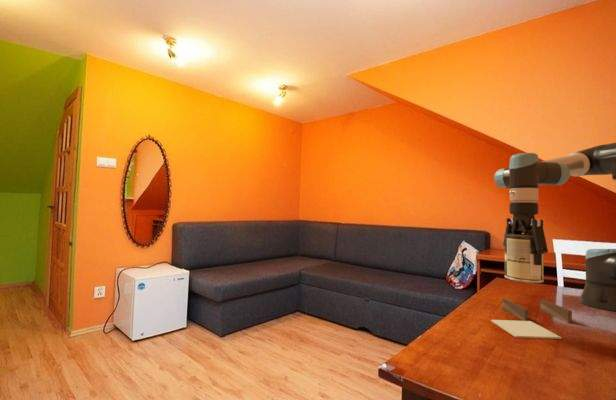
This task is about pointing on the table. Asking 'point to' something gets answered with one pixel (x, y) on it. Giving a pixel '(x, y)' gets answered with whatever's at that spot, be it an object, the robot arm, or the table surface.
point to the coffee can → (519, 259)
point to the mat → (525, 329)
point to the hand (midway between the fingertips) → (523, 272)
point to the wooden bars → (544, 306)
